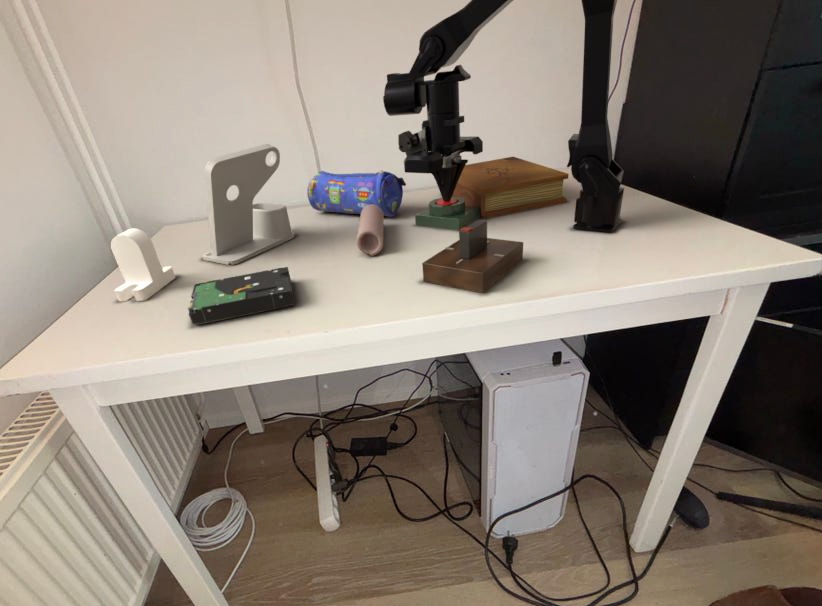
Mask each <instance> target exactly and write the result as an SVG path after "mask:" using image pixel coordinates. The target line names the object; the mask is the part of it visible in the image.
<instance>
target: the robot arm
mask: <svg viewBox="0 0 822 606" xmlns="http://www.w3.org/2000/svg"><path fill="white" fill-rule="evenodd" d="M513 1H514V0H470V1H469V2H468V3H467V4H466V5H465V6H464V7H462V8H461V9H460V10H458V11H456V12H455V13H453V14H451V15H449V16H447V17H446V18H443V19H442V20H440V21H439V22H438V23H436V24H435V25H433V26H432V27H430V28H428V29H426V31H425V32H424V33H423V34H422V35H421V37H420V39H419V46H418V54H417V55H416V58H415V60H414V61H413V64H412V66H411V68H410V71H408V72H405V73H400V72H393V73H388V74H386V84H385V86H384V91H383V92H384V93H383V96H382V100H383V107H384V110H385V112H386V114H387V116H389V117H393V116H395V117H396V116H397V117H398V116H408V115H409V116H410V115H419V114H421V113H422V110H423V108H426V117H427V118H426V119H425V120H423V121H422V122H421V130H419V131H418V132H414V133H412V131H410V130H406V131H403V132H401V133H399V134H398V137H397V140H398V141H397V142H398V150H399V151H400V152H401V153H405V156H406V157H405V158H404V160H403V170H404V173H405V174H408V173H409V174H431V175H432V176H433V178H434V181H435V182H436V185H437V187H438V190H439V193H440V195H441V198H443V201H445V202H448V201H450V200H451V198H452V195H453V193H454V190H455V187H456V185H457V182H458V180H459V178H460V176H461V173H462V171H463V169H464V167H465V165H467V164H468V162H469V159H463V158H462V155H461V154H463V153H472V154H473V155H479V154H481V153H483V152H484V148H483V147H484V146H483V145H484V142H483V140H482V139H481V137H480V136H461V124H462V123H465V115H460V87H459V86H460V85H459V83H460V82H465V81H468V80H470V79H471V78H472V75H471V74H470V73H469V72H468V71H467V70H466V69H464V67H463V65H462V64H457V65H455V63H457V61H458V60H460V58H461V57H462V55H463V54H464V53H465V52H466V51H467V49H468V48H469V47H470V45H471V43H472V42H473V41H474V39H475V37H476V36H477V35H478V33H479V32H480V31H481V30H482V29H483V28H484V27H485V26H487V25H488V24H489V23H490V22H491V21H492V20H494V18H495V17H496V16H498V15H499V14H500V13H501V12H502V11H503V10H505V9H506V8H507V7H508V6H509V5H510V4H511V3H512V2H513ZM617 3H618V0H581V5H582V10H583V11H582V12H583V16H584V34H583V35H584V39H583V63H582V64H583V65H582V92H581V94H582V95H581V114H580V115H581V117H580V118H581V119H580V127H579V129H578V130H579V131H578V133H573V134H572V135H571V137H569V139H568V141H567V146H568V147H567V148H568V152H569V153H568V154H569V156H568V157H569V158H568V162H567V165H566V168H570V172H571V175H572V178H573V179H574V180H576V182H577V183H579V184H581V189H580V190H579V197H578V198H576V199H575V207H574V218H573V222H574V224H573V226H572V229H574V230H583V231H594V232H604V233H612V232H613V231H614V230H616V228H617V227H619V225H620V224H621V223H622V222H623V218H621V214H622V213H621V212H622V211H621V210H622V206H623V205H622V204H623V198H624V191H625V187H621V185H622V181H623V177H624V174H625V170H624V169H623V168H622V166H620V165H619V164H618V163H617V162H616V161H615V160H614V159H613V156H614V155H613V146H612V138H611V137H612V136H611V131H610V126H609V120H608V111H609V96H610V95H609V94H610V81H611V79H610V78H611V77H610V76H611V64H612V63H611V61H612V49H613V48H612V47H613V46H612V45H613V30H614V16H615V12H616V11H615V10H616V7H617ZM452 65H455V66H454V68H453V70H448V71H447V70H446V71H440V70H441V69H443V68H446V67H450V66H452ZM432 75H434V76H435V77H434V78H433V79H428V80H425V77H428V76H432Z"/></svg>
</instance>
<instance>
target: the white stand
mask: <svg viewBox="0 0 822 606" xmlns="http://www.w3.org/2000/svg"><path fill="white" fill-rule="evenodd" d="M110 249H111V251H112V255H113V257H114V260H115V261H116V263H117V266H118V269H119V270H120V274H121V275H122V277H123V280H124V283H122V284H121V285H120V286H118V287H116V288H115V289H114V290H113V291H114V293H115V296H116V297H117V300H118V301H119V302H127V301H128V300H130V299H131V298H133V297H134V299H135V302H144V301H147V300H148V299H149V298H151V297H152V296H154V295H155V294H156V293H157V292H159V291H160V290H161V289H163V288H165V286H167V285H168V284H169V283H171V282H172V281H173V280H174V279H176V275H175V272H174V270H173V267H172V266H171V265H170V266H164V267H162V264H161V262H160V259H159V257H158V254H157V251H156V248H155V246H154V244H153V241H152V239H151V238H150V236H149V235H148V234H147V233H145V231H143V230H141V229H139V228H133V227H132V228H128V229H126V230H125V231H123V232H121V233H119V234H117V235H115V236H114V237H113V238H112V240H111V241H110Z"/></svg>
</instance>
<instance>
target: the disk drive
mask: <svg viewBox="0 0 822 606" xmlns="http://www.w3.org/2000/svg"><path fill="white" fill-rule="evenodd" d="M190 298H191V299H190V301H189V306H188V307H187V310H188V317H189V319H190V321H191V324H192V325H201V324H208V323H213V322H217V321H223V320H228V319H232V318H237V317H242V316H246V315H247V316H248V315H252V314H257V313H262V312H268V311H272V310H277V309H282V308H286V307H289V306H291V305H292V306H294V305H295V297H294V292H293V286H292V280H291V276H290V271H289V267H288V266H284V267H278V268H273V269H268V270H262V271H256V272H251V273H247V274H242V275H235V276H230V277H224V278H219V279H214V280H208V281H205V282H204V281H203V282H199V283H194V285H193V289H192V292H191V295H190Z"/></svg>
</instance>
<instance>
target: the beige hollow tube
mask: <svg viewBox="0 0 822 606" xmlns="http://www.w3.org/2000/svg"><path fill="white" fill-rule="evenodd" d="M384 217H385V216H384V215H383V211H382V210H381V208H380V207H378V206H377V205H374V204H370V205H367V206H365V207H364V208H363V209H362V211H361V214H360V217H359V223H358V229H357V234H356V235H357V236H356V246H357V248H358V250H359V251H360V252H361V253H363V254H366V255H369V256H370V257H374V256H376V255H378V254H379V253H380V252H381V251H382V249H383V247H384V221H385V220H384Z"/></svg>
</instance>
